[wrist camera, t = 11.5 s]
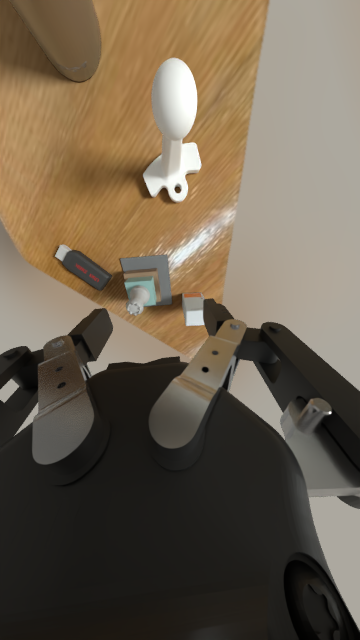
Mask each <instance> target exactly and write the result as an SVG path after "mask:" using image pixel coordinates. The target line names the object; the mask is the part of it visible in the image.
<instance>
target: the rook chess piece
mask: <svg viewBox="0 0 360 640" xmlns="http://www.w3.org/2000/svg"><path fill="white" fill-rule="evenodd" d="M149 298H150V292H149V291H148V289H147V288H145V287H144V286H141V285H139V286H135V287H133V288H132V289H131V292H130V300H129V301H128V302H127V303H126V309H127V311H128V312H129V314H134V315H138V314H140V313H141V312H142V311H143V305H144V304H146V303H147V302H148V301H149Z"/></svg>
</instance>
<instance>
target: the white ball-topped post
mask: <svg viewBox="0 0 360 640" xmlns="http://www.w3.org/2000/svg"><path fill="white" fill-rule="evenodd" d="M152 110H153V115H154V119H155V122H156V124H157V126H158V128H159V130H160V131H161V133H162V134H163V139H162V154H161V155H160V156H159V157H157V158H156V159H155V160H154V161H153V162H152V163H151V164H150V165H149V167H148V168H147V169H146V171H145V172H144V174H143V178H144V180H145V182H146V185H147V187H148V189H149V192H150V194H151V196H152V197H156V196H157V194H158V193H159V191H160V190H161V189H162V188H166V189H167V190H168V193H169V196H170V198H171V200H172V201H174V202H176V203H179V202H182V201H183V200H184V199H185V197H186V195H187V192H188V185H187V182H186V179H185V175H186V174H189V173H198V172H199V170H200V168H201V161H200V157H199V153H198V149H197V145H196V144H195V143H186V144H182V139H183V138H184V137H185V136H186V135H187V134H188V133H189V131H190V130H191V128H192V126H193V123H194V120H195V116H196V111H197V91H196V85H195V81H194V78H193V75H192V73H191V71H190V69H189V68H188V66H187V65H186V64H185V63H184V62H183V61H181V60H180V59H177V58H170V59H168V60H166V61H165V62H163V63H162V65H161V66H160V67H159V69H158V71H157V73H156V75H155V78H154V82H153V87H152ZM177 186H178V187H180V189H181V192H180V193H176V192H175V190H174V188H175V187H177Z"/></svg>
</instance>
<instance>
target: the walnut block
mask: <svg viewBox="0 0 360 640" xmlns="http://www.w3.org/2000/svg"><path fill="white" fill-rule="evenodd" d="M123 275H124V279H125V282H126V280H127V279H128V278H135V277H147V276H153V280H154V286H155V292H156V298H157V299H156V302H161V291H160V284H159V277H158V270H157V268H152V269H140V270H128V271H126V272H125V273H124V274H123Z"/></svg>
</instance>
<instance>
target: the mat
mask: <svg viewBox="0 0 360 640" xmlns="http://www.w3.org/2000/svg"><path fill="white" fill-rule="evenodd" d="M120 260H121V264H122V267H123V271H124V273H125V272H126V271H128V270H140V269H152V268H157V270H158V277H159V284H160V291H161V302H156V305H148V306H159V305H169V304H172V297H171V287H170V277H169V268H168V258H167V255H157V256H145V257H133V258H121V259H120ZM148 306H143V307H148Z"/></svg>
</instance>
